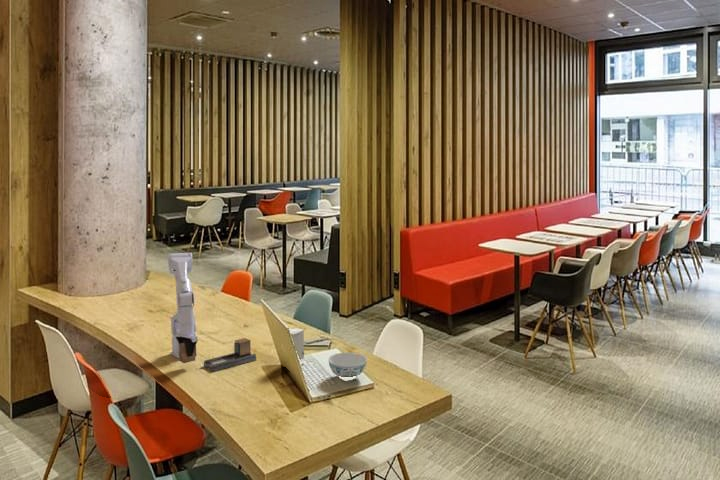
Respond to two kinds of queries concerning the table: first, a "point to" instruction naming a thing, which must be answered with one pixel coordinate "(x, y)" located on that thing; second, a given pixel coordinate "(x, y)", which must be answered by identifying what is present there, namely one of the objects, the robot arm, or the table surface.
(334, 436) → the table surface
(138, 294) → the table surface
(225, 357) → the rail
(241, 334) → the table surface
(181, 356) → the walnut finger
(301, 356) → the skincare box
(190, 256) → the robot arm
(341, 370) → the chinaware
